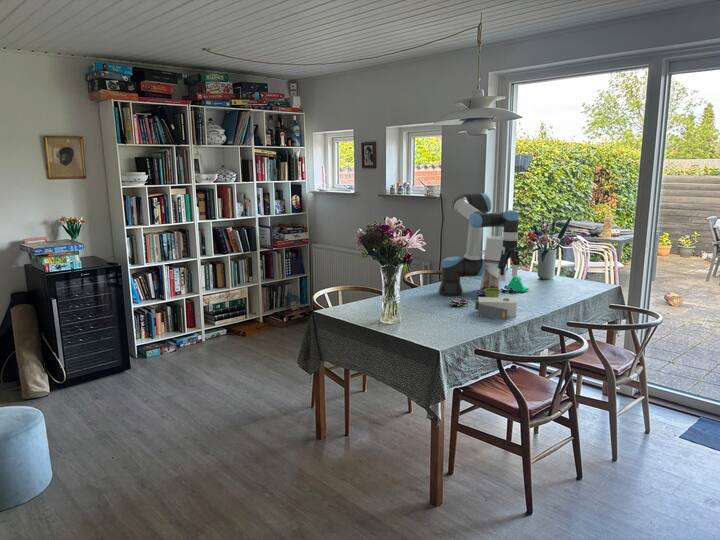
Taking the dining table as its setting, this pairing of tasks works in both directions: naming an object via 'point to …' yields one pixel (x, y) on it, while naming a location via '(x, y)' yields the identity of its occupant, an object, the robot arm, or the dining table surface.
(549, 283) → the dining table surface
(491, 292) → the plant pot
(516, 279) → the camera mount
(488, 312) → the side door
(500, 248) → the display case
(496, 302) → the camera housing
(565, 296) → the dining table surface
